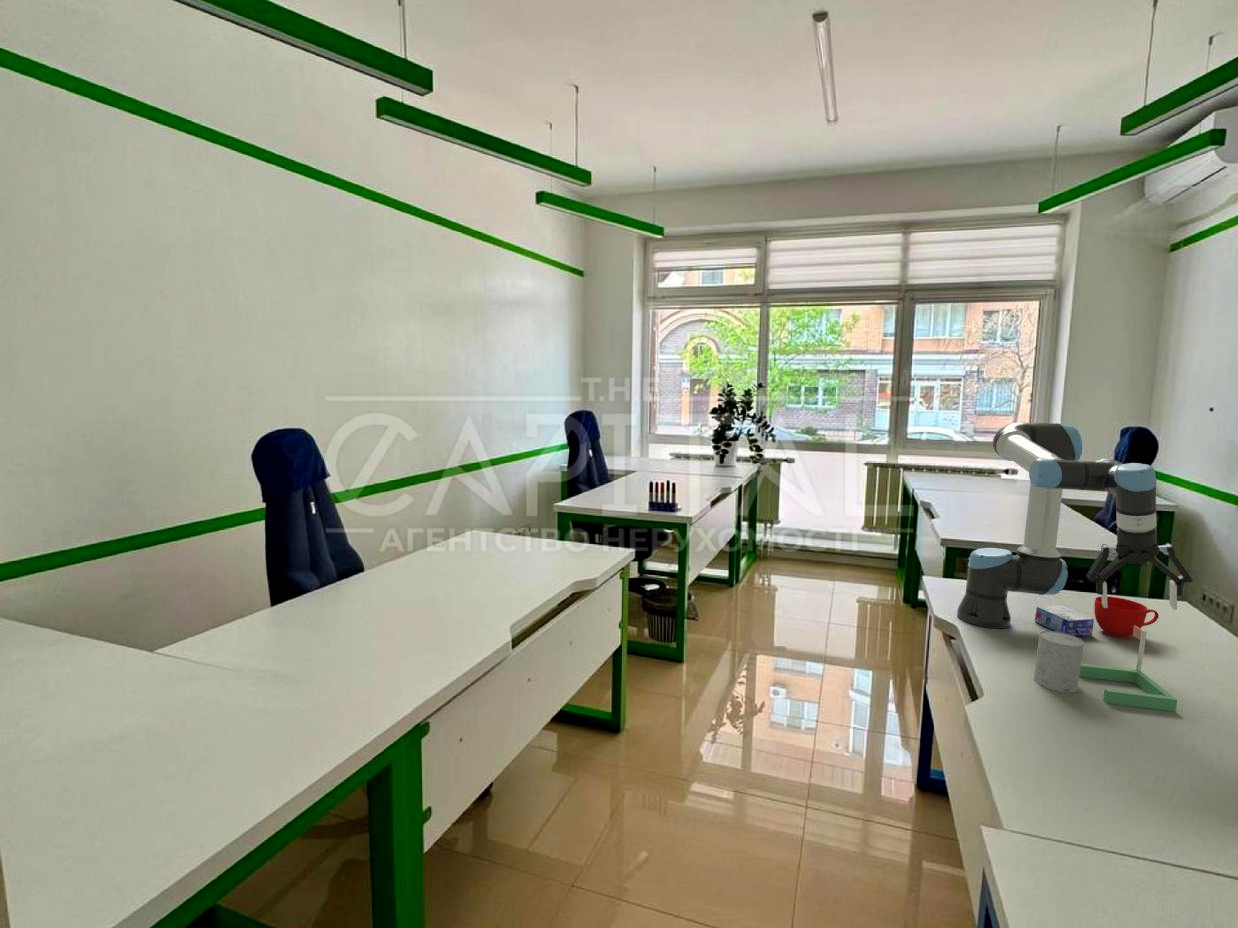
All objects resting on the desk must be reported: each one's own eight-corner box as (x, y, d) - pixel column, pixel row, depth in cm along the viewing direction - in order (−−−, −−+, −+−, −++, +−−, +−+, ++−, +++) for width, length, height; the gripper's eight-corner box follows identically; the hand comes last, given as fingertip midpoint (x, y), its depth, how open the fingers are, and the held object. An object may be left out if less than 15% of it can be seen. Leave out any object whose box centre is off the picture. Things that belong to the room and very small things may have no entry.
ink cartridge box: (1033, 622, 209) (1072, 639, 194) (1035, 606, 208) (1074, 622, 194) (1059, 621, 210) (1100, 637, 196) (1061, 604, 210) (1102, 620, 196)
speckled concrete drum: (1077, 696, 159) (1083, 649, 157) (1031, 684, 165) (1037, 638, 163) (1078, 682, 167) (1084, 637, 165) (1035, 671, 172) (1040, 627, 171)
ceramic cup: (1167, 646, 192) (1172, 614, 191) (1104, 639, 196) (1108, 608, 194) (1142, 629, 205) (1146, 599, 204) (1082, 624, 208) (1086, 594, 207)
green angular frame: (1069, 667, 175) (1076, 618, 173) (1130, 674, 172) (1138, 625, 170) (1106, 702, 156) (1114, 648, 154) (1175, 711, 153) (1184, 655, 151)
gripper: (1076, 534, 158) (1080, 611, 163) (1209, 531, 146) (1209, 615, 151) (1071, 523, 164) (1075, 597, 169) (1198, 519, 152) (1198, 600, 157)
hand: (1138, 606), depth 160 cm, fingers open, 13 cm apart
